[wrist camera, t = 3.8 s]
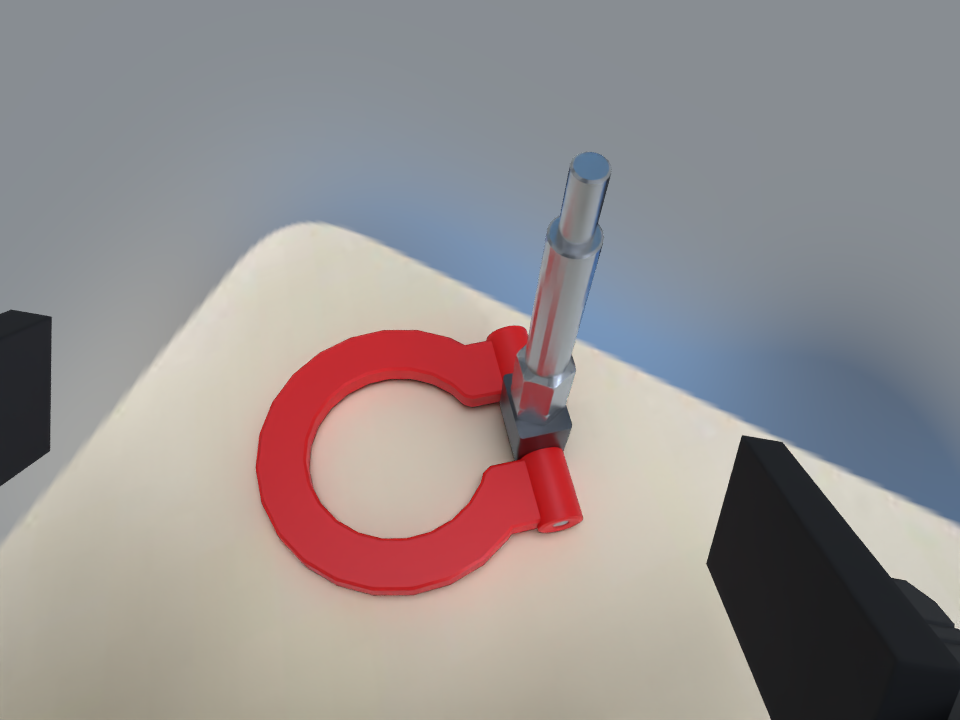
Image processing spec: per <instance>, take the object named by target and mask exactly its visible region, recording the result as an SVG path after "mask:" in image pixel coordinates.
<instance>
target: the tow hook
mask: <svg viewBox="0 0 960 720" xmlns="http://www.w3.org/2000/svg"><path fill="white" fill-rule="evenodd" d="M611 170H612V169H611V165H610V163H609V161H608V160H607V159H606V158H605V157H603V156H602V155H600V154H597V153H594V152H584V153H580V154H578V155H576V156H575V157H574V158H573V159H572V161H571V163H570V168H569V173H568V178H567V183H566V188H565V193H564V199H563V204H562V209H561V214H560V216H558V217H556V218H555V219H554V220H553V221H552V222H551V223H550V224H549V227H548V229H547V234H546V239H545V245H544V251H543V257H542V262H541V268H540V274H539V279H538V285H537V290H536V296H535V301H534V307H533V313H532V318H531V324H530V330H529V335H528V334H527V331H526V329H525V328H524V327H522V326H507V327H503V328H500V329H498V330H496V331H494V332H492V333H491V334H490V335H489V336H488V337H487V340H486V341H484V342H479V343H474V344H469V345H463V344H461V343H459V342H457V341H455V340H453V339H451V338H449V337H444V336H440V335H436V334H432V333H427V332H423V331H419V330H382V331H378V332H374V333H369V334H365V335H360V336H356V337H352V338H349V339H347V340H345V341H343V342H341V343H339V344H337V345H335V346H333V347H331V348H328V349H326V350H324V351H322V352H320V353H319V354H318V355H316V356H315V357H314V358H313V359H311V360H310V361H309V362H308V363H307V364H305V365H304V366H303V367H302V368H300V369H299V370H298V371H297V372H296V373H294V374H293V375H292V377H291V378H290V379H289V381H288V382H287V383H286V385H285V386H284V387H283V389H282V390H281V391H280V393H279V394H278V395H277V397H276V398H275V399H274V401H273V402H272V405H271V407H270V410H269V412H268V414H267V417H266V419H265V422H264V424H263V427H262V429H261V432H260V435H259V444H258V452H257V461H256V473H257V479H258V485H259V490H260V496H261V502H262V505H263V507H264V509H265V511H266V513H267V515H268V517H269V519H270V521H271V523H272V525H273V527H274V529H275V531H276V533H277V535H278V536H279V538H280V539H281V541H282V542H283V543H284V544H285V545H286V546H287V547H288V548H289V549H290V550H291V551H292V552H293V553H294V555H295V556H296V557H297V558H298V559H299V560H300V561H301V562H302V563H303V564H304V565H305V566H306V567H307V568H309V569H311V570H312V571H314V572H316V573H317V574H319V575H321V576H322V577H324V578H326V579H327V580H329V581H331V582H333V583H334V584H336V585H338V586H341V587H345V588H349V589H352V590H356V591H360V592H364V593H368V594H371V595H415V594H419V593H422V592H426V591H429V590H433V589H436V588H440V587H443V586H447V585H450V584H452V583H454V582H455V581H457V580H459V579H461V578H462V577H464V576H466V575H467V574H469V573H471V572H472V571H474V570H476V569H477V568H479V567H481V566H482V565H484V564H485V563H486V562H487V561H488V559H489V558H490V557H491V556H492V555H493V554H494V553H495V552H496V551H497V550H498V549H499V548H500V547H501V546H502V545H503V544H504V543H505V542H506V541H507V540H508V539H509V537H510V535H511V534H514V533H519V532H523V531H527V530H532V529H536V528H538V531H539V532H543V533H548V532H556V531H561V530H564V529H567V528H570V527H572V526H574V525H576V524H578V523H580V522H581V521H582V520H583V516H582V513H581V509H580V506H579V503H578V499H577V496H576V493H575V489H574V486H573V483H572V480H571V476H570V473H569V470H568V466H567V463H566V460H565V456H564V453H563V451H564V448H565V445H566V442H567V440H568V437H569V434H570V431H571V428H572V423H571V419H570V416H569V413H568V410H567V407H566V402H567V398H568V396H569V393H570V389H571V386H572V383H573V380H574V376H575V373H576V368H575V363H574V360H573V357H572V350H573V347H574V343H575V340H576V336H577V333H578V329H579V326H580V322H581V319H582V315H583V312H584V308H585V305H586V301H587V298H588V294H589V290H590V287H591V283H592V279H593V276H594V273H595V269H596V266H597V262H598V259H599V256H600V252H601V248H602V245H603V239H604V236H603V231H602V229H601V227H600V226H599V224H598V220H599V217H600V213H601V209H602V206H603V202H604V198H605V194H606V191H607V187H608V183H609V179H610V175H611ZM387 379H414V380H418V381H422V382H426V383H430V384H433V385H435V386H437V387H439V388H441V389H443V390H445V391H447V392H449V393H451V394H452V395H453V396H454V397H456V398H457V399H458V400H459V401H460V402H461V403H462V404H463V405H466V406H470V407H476V406H480V405H485V404H490V403H495V402H500V408H501V411H502V415H503V419H504V422H505V426H506V430H507V433H508V437H509V441H510V444H511V448H512V452H513V455H514V459H515V461H512V462H507V463H502V464H498V465H493V466H490V467H489V468H488V469H487V470H486V471H485V472H484V473H483V476H482V480H481V483H480V485H479V487H478V488H477V490H476V492H475V494H474V495H473V497H472V499H471V500H470V502H469V503H468V504H467V505H466V506H465V507H464V508H463V509H462V510H461V511H460V512H459V513H458V514H457V515H456V516H455V517H454V518H453V519H452V520H451V521H449V522H447V523H445V524H444V525H442V526H440V527H438V528H437V529H435V530H433V531H431V532H428V533H425V534H421V535H417V536H414V537H410V538H391V539H382V538H378V537H374V536H370V535H366V534H362V533H358V532H357V531H355V530H353V529H351V528H350V527H348V526H346V525H344V524H343V523H341V522H339V521H337V520H336V519H335V518H334V516H333V515H332V514H331V513H330V512H329V511H328V510H327V509H326V508H325V507H324V506H323V505H322V504H321V502H320V501H319V499H318V497H317V495H316V493H315V491H314V489H313V485H312V480H311V475H310V470H309V465H310V453H311V446H312V443H313V440H314V438H315V435H316V432H317V429H318V427H319V425H320V424H321V422H322V421H323V420H324V418H325V417H326V415H327V414H328V412H329V411H330V410H331V408H333V407H334V406H335V405H336V404H337V403H338V402H340V401H341V400H342V399H343V398H344V397H345V396H347V395H348V394H349V393H351V392H353V391H355V390H357V389H359V388H361V387H363V386H365V385H367V384H371V383H375V382H379V381H383V380H387Z"/></svg>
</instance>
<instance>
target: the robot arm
mask: <svg viewBox="0 0 960 720" xmlns="http://www.w3.org/2000/svg"><path fill="white" fill-rule="evenodd" d="M51 323H52V317H50V316H44V315H39V314H33V313H27V312H21V311H15V310H9V311H7V312H4V313H2V314H0V486H1V485H3V484H4V483H6V482H7V481H8V480H10V479H11V478H13V477H14V476H15V475H17V474H18V473H20V472H21V471H22V470H24V469H25V468H27V467H28V466H29V465H31V464H32V463H34V462H35V461H36V460H38V459H39V458H41V457H42V456H43V455H45V454H46V453H48V452H49V451H50V409H51V406H50V405H51V325H52V324H51ZM706 564H707V566H708V568H709V571H710V573H711V576H712V578H713V581H714V583H715V585H716V588H717V590H718V593H719V595H720V597H721V600H722V602H723V605H724V607H725V609H726V612H727V614H728V617H729V619H730V621H731V624H732V626H733V629H734V631H735V634H736V636H737V638H738V641H739V643H740V646H741V648H742V650H743V653H744V655H745V658H746V660H747V662H748V665H749V667H750V670H751V672H752V675H753V677H754V679H755V682H756V684H757V687H758V689H759V691H760V694H761V696H762V699H763V701H764V703H765V706H766V708H767V711H768V713H769V715H770V718H771V720H960V630H959V629H956V628H954V625H955V624H954V623H953V622H952V621H951V620H950V618H949V617H948V616H947V615H946V614H945V613H944V611H943V610H942V609H941V608H940V607H939V606H938V604H937V603H936V602H935V601H933V600H932V599H931V598H929V597H928V596H926V595H925V594H924V593H922V592H921V591H920V590H918V589H917V588H915V587H914V586H913V585H911V584H910V583H908V582H907V581H906V580H901V579H895V578H891V577H890V576H889V575H888V573H887V572H886V571H885V570H884V568H883V567H882V566H881V565H880V563H879V562H878V561H877V560H876V558H875V557H874V556H873V555H872V553H871V552H870V551H869V550H868V548H867V547H866V546H865V545H864V543H863V542H862V541H861V540H860V538H859V537H858V536H857V535H856V533H855V532H854V531H853V530H852V528H851V527H850V526H849V525H848V523H847V522H846V521H845V520H844V519H843V517H842V516H841V515H840V514H839V512H838V511H837V510H836V509H835V507H834V506H833V505H832V504H831V502H830V501H829V500H828V499H827V497H826V496H825V495H824V494H823V492H822V491H821V490H820V489H819V487H818V486H817V485H816V484H815V482H814V481H813V480H812V479H811V477H810V476H809V475H808V474H807V472H806V471H805V470H804V469H803V467H802V466H801V465H800V464H799V462H798V461H797V460H796V459H795V457H794V456H793V455H792V454H791V452H790V451H789V450H788V449H787V447H786V446H785V445H784V444H783V442H779V441H773V440H767V439H761V438H755V437H749V436H744V435H742V437H741V441H740V444H739V448H738V452H737V455H736V459H735V462H734V466H733V470H732V473H731V477H730V480H729V484H728V488H727V491H726V495H725V498H724V502H723V506H722V509H721V513H720V516H719V520H718V523H717V527H716V531H715V534H714V538H713V541H712V545H711V549H710V552H709V556H708V559H707V563H706Z"/></svg>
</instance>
